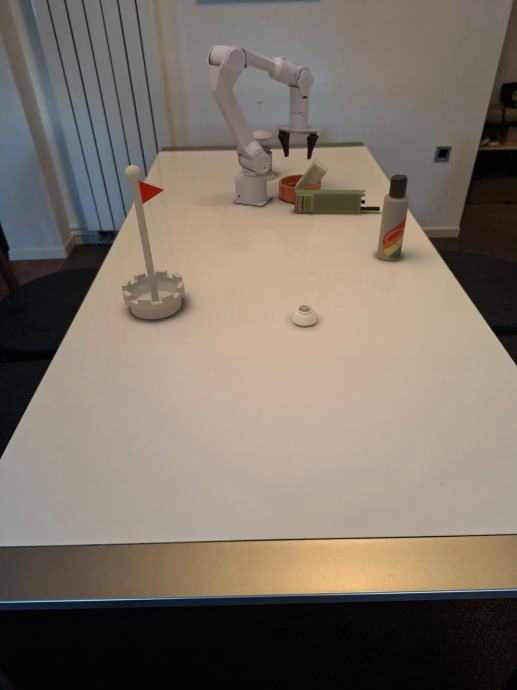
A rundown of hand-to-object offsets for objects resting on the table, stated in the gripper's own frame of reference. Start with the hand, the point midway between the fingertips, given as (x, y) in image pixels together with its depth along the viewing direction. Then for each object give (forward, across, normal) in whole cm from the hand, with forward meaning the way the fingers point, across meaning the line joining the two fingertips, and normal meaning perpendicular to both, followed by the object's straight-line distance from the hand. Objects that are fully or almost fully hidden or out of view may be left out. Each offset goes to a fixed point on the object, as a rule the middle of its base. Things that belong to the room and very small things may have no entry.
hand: (297, 157), depth 158 cm
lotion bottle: (+11, -38, +38) cm, 55 cm away
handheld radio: (+11, -18, +15) cm, 25 cm away
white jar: (+11, -28, +73) cm, 79 cm away
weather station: (+11, +17, -10) cm, 22 cm away
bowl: (+10, -3, +6) cm, 12 cm away
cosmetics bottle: (+8, -3, +6) cm, 11 cm away
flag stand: (+11, +4, +79) cm, 80 cm away
